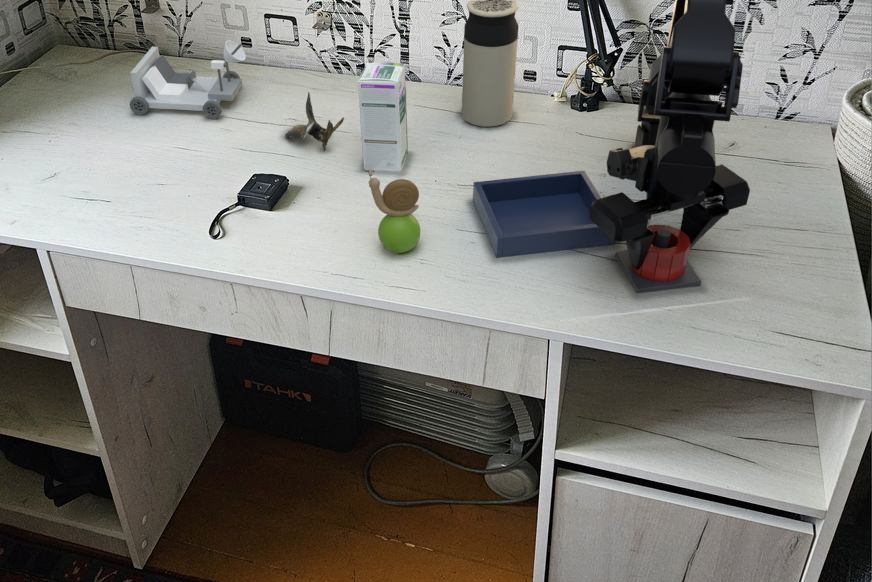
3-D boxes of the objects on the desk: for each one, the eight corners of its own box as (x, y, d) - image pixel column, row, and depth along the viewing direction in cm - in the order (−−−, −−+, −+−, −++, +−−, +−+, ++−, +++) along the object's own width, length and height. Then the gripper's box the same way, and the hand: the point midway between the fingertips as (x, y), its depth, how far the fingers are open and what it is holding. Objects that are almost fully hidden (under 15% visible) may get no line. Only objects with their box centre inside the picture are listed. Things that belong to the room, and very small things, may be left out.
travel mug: (514, 127, 146) (523, 14, 134) (463, 129, 146) (467, 15, 134) (509, 103, 152) (516, -8, 140) (460, 105, 152) (463, -6, 140)
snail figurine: (369, 239, 124) (366, 159, 116) (417, 235, 125) (417, 155, 117) (373, 263, 120) (369, 182, 112) (423, 259, 121) (423, 178, 113)
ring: (672, 247, 119) (678, 221, 116) (693, 278, 114) (699, 251, 111) (622, 253, 118) (627, 227, 116) (641, 284, 113) (646, 258, 111)
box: (581, 191, 131) (584, 170, 129) (614, 246, 121) (618, 224, 119) (472, 203, 130) (473, 182, 128) (496, 260, 120) (497, 238, 118)
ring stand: (674, 250, 120) (683, 210, 116) (700, 288, 114) (709, 247, 110) (614, 257, 119) (620, 217, 116) (636, 295, 113) (644, 255, 110)
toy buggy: (249, 32, 153) (229, 62, 144) (256, 88, 159) (237, 120, 151) (145, 27, 156) (118, 57, 147) (155, 83, 162) (131, 114, 153)
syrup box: (401, 174, 137) (400, 80, 127) (361, 171, 138) (357, 78, 128) (408, 154, 141) (407, 62, 131) (369, 151, 142) (365, 60, 132)
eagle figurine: (354, 131, 144) (317, 102, 148) (337, 107, 138) (299, 77, 142) (320, 168, 144) (284, 138, 148) (301, 145, 138) (264, 115, 142)
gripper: (703, 100, 114) (680, 209, 124) (570, 134, 109) (558, 245, 119) (766, 141, 106) (736, 254, 116) (627, 180, 101) (608, 294, 111)
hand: (658, 260), depth 116 cm, fingers closed on ring, 6 cm apart
